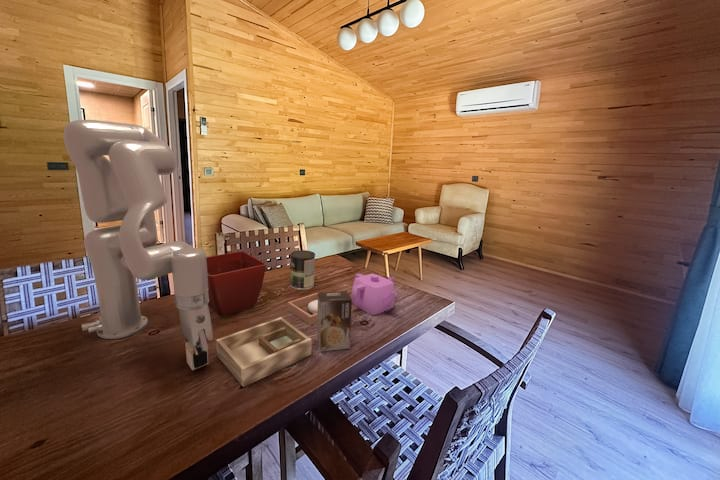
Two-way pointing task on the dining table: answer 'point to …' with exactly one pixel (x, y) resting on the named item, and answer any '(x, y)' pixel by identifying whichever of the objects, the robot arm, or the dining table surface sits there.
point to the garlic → (313, 307)
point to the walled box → (262, 350)
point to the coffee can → (302, 269)
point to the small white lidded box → (190, 354)
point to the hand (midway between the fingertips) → (197, 360)
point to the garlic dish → (294, 308)
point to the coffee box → (334, 320)
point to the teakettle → (373, 293)
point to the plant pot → (234, 282)
